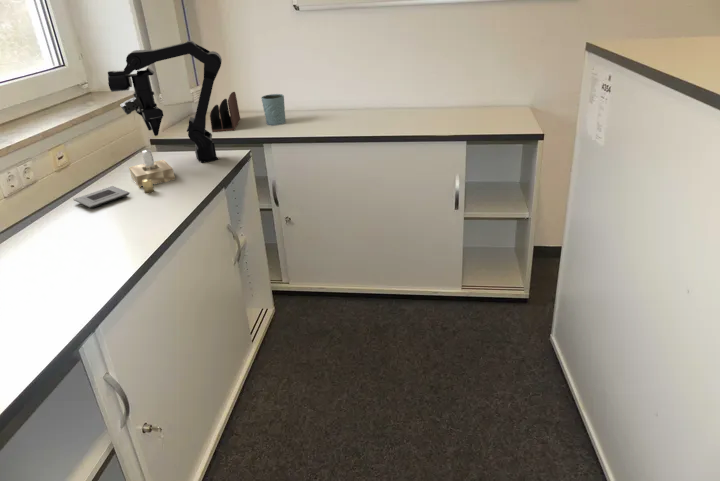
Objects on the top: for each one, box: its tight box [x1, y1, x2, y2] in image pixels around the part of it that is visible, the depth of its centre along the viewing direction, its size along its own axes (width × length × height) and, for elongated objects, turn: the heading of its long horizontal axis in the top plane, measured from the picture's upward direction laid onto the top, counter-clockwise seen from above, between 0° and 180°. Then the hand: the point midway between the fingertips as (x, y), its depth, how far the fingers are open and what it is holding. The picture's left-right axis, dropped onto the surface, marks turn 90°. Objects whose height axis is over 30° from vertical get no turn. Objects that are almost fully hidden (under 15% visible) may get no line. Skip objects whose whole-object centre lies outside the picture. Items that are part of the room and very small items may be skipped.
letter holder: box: [209, 91, 241, 133], centre depth 243 cm, size 10×20×14 cm, turn 4°
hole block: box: [128, 159, 176, 188], centre depth 186 cm, size 12×12×4 cm
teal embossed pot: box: [260, 93, 286, 126], centre depth 243 cm, size 10×10×12 cm
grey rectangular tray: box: [73, 185, 130, 209], centre depth 171 cm, size 13×10×2 cm
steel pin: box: [141, 149, 155, 171], centre depth 185 cm, size 3×3×10 cm
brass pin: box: [142, 179, 155, 194], centre depth 175 cm, size 3×3×4 cm
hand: (153, 132), depth 195 cm, fingers open, 9 cm apart
